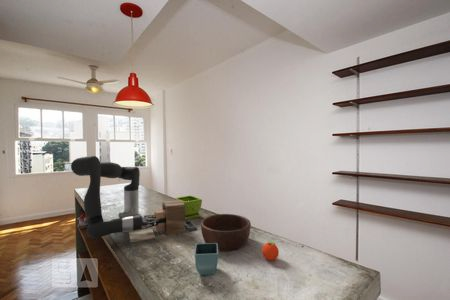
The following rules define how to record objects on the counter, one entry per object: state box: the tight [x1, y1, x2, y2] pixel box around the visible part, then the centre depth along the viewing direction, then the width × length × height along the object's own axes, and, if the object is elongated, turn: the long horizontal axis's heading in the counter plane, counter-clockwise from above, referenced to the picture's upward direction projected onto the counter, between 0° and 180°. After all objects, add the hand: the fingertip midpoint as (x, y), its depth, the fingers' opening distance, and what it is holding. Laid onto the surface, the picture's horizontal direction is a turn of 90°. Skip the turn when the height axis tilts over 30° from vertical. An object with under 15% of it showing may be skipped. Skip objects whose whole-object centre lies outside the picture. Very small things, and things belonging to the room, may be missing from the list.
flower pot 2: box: [194, 243, 219, 276], centre depth 82 cm, size 9×9×9 cm
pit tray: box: [185, 219, 198, 232], centre depth 126 cm, size 12×5×2 cm, turn 27°
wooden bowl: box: [200, 213, 252, 252], centre depth 107 cm, size 25×25×10 cm
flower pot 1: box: [174, 195, 203, 221], centre depth 143 cm, size 14×14×13 cm
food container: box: [118, 207, 137, 218], centre depth 125 cm, size 12×6×10 cm, turn 168°
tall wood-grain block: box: [154, 209, 166, 234], centre depth 120 cm, size 7×15×11 cm, turn 117°
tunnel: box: [161, 199, 186, 236], centre depth 122 cm, size 12×10×16 cm
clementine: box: [261, 241, 280, 261], centre depth 91 cm, size 8×7×7 cm
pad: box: [128, 227, 156, 243], centre depth 114 cm, size 14×12×1 cm
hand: (164, 218), depth 119 cm, fingers closed on tall wood-grain block, 5 cm apart
